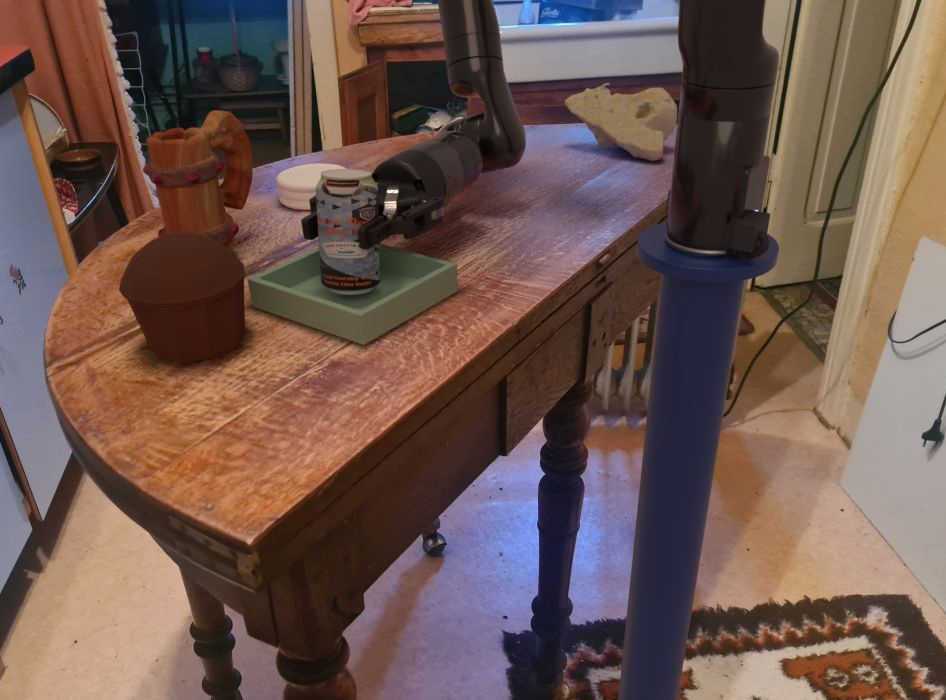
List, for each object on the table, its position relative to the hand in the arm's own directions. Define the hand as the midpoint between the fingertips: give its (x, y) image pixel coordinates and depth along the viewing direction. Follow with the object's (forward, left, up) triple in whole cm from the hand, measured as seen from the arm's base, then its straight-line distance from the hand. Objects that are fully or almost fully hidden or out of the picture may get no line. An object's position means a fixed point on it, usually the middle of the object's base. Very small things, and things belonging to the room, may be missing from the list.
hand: (333, 234), depth 83 cm
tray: (0, -2, -8) cm, 8 cm away
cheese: (+3, -63, -8) cm, 64 cm away
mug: (+23, -3, -8) cm, 25 cm away
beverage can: (0, -2, -7) cm, 7 cm away
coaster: (+27, -23, -8) cm, 37 cm away
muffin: (+7, +13, -8) cm, 17 cm away
